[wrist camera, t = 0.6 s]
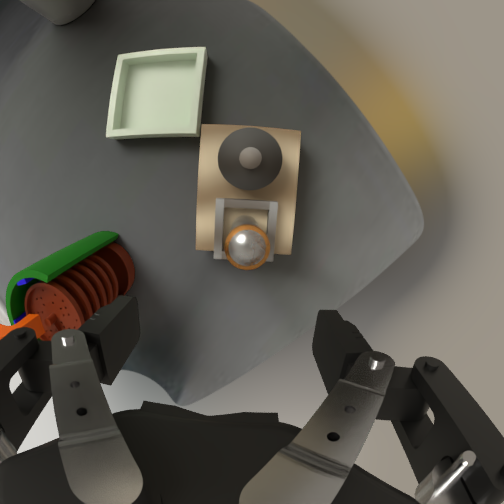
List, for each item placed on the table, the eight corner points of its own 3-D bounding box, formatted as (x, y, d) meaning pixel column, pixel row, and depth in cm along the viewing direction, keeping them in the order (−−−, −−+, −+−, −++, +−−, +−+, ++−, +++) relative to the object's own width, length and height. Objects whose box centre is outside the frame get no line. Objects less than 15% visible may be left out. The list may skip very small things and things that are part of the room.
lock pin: (229, 211, 28) (225, 224, 20) (262, 213, 28) (272, 227, 21) (227, 243, 29) (223, 268, 21) (260, 245, 29) (268, 270, 21)
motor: (145, 299, 35) (78, 406, 15) (93, 308, 35) (15, 397, 15) (122, 224, 32) (13, 282, 13) (69, 241, 32) (-37, 298, 13)
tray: (126, 62, 26) (118, 54, 23) (207, 56, 27) (205, 46, 24) (115, 139, 29) (105, 137, 26) (199, 136, 30) (196, 133, 27)
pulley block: (206, 130, 29) (197, 118, 23) (293, 136, 30) (307, 126, 24) (200, 245, 33) (191, 262, 26) (284, 249, 34) (295, 267, 27)
